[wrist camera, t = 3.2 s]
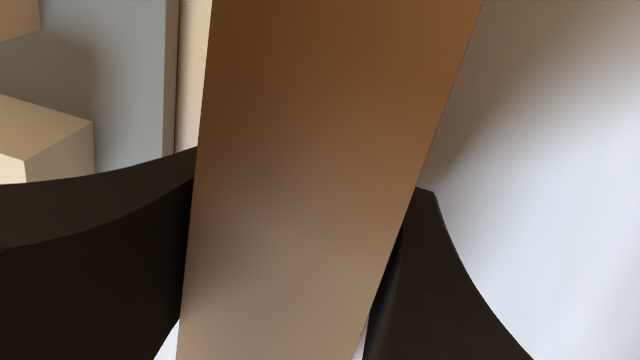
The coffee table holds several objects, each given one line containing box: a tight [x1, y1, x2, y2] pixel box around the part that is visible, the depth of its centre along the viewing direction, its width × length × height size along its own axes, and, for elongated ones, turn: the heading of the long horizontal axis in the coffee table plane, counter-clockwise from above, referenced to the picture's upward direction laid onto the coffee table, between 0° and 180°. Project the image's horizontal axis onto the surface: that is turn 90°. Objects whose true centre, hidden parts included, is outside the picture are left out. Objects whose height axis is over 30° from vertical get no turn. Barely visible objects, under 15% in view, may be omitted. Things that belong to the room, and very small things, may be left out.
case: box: [176, 0, 484, 360], centre depth 11 cm, size 3×14×5 cm, turn 167°
